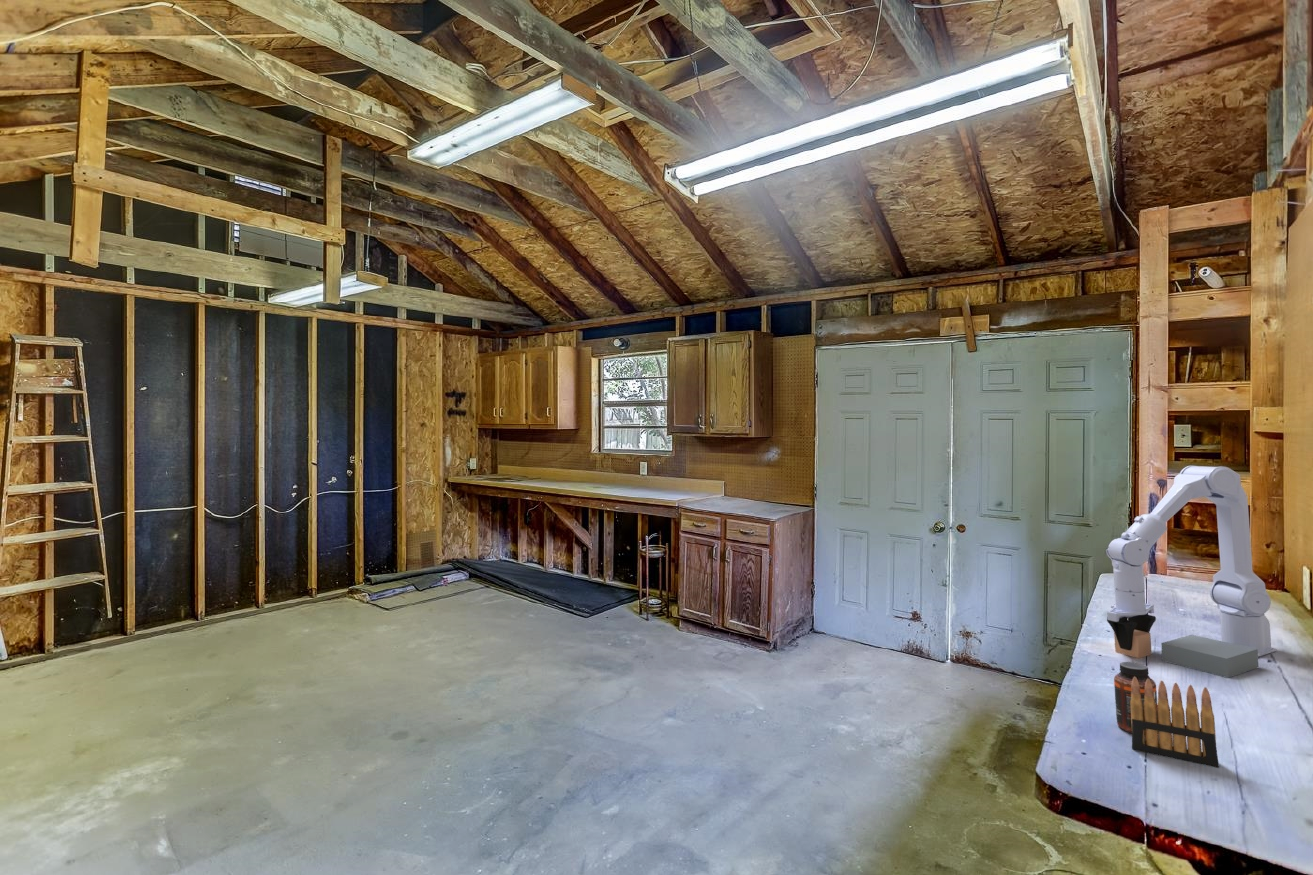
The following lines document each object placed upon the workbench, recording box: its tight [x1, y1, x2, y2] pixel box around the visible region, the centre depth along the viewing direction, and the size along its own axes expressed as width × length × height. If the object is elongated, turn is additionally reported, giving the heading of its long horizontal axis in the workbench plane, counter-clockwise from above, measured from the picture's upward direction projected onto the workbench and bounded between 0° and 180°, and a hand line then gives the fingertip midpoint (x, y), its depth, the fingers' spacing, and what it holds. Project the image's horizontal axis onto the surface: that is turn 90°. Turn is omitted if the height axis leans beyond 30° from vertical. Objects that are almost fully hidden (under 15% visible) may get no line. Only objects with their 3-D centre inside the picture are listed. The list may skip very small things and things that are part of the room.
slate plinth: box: [1161, 634, 1260, 678], centre depth 136 cm, size 12×12×4 cm
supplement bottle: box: [1113, 661, 1159, 734], centre depth 108 cm, size 6×6×11 cm
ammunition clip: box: [1130, 676, 1220, 769], centre depth 99 cm, size 11×2×12 cm, turn 52°
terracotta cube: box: [1113, 630, 1153, 659], centre depth 145 cm, size 5×5×5 cm
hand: (1133, 647), depth 145 cm, fingers closed on terracotta cube, 5 cm apart
